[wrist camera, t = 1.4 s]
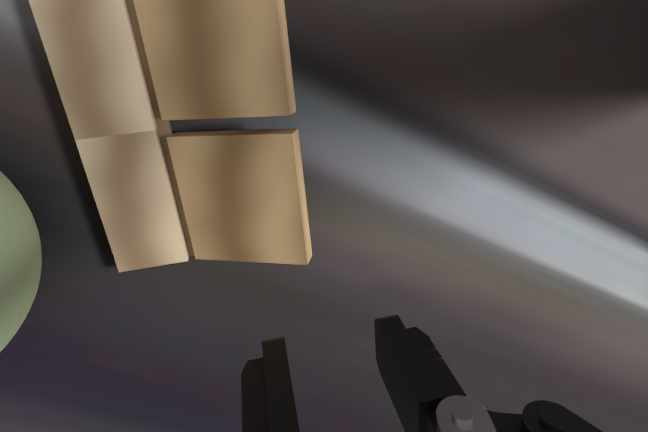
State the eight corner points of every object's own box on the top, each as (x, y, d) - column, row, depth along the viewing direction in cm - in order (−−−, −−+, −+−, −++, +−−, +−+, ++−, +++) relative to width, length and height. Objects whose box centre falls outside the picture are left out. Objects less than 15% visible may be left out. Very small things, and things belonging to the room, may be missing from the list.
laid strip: (131, -43, 23) (126, -47, 22) (200, 250, 30) (199, 259, 29) (26, -36, 22) (15, -40, 21) (123, 263, 29) (118, 272, 28)
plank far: (298, 128, 25) (292, 133, 24) (312, 255, 28) (307, 264, 27) (176, 132, 27) (166, 136, 26) (203, 250, 30) (195, 258, 29)
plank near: (277, -64, 21) (268, -69, 20) (296, 111, 24) (289, 115, 23) (136, -43, 23) (121, -46, 22) (173, 116, 26) (162, 120, 25)
